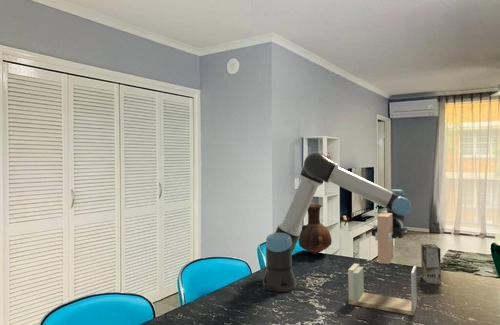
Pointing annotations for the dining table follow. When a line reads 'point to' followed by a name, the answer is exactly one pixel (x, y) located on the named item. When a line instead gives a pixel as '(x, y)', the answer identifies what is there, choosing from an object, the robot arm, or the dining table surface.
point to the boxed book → (384, 238)
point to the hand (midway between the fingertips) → (382, 237)
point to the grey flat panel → (413, 288)
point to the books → (355, 282)
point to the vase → (314, 232)
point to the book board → (385, 303)
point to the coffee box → (431, 263)
